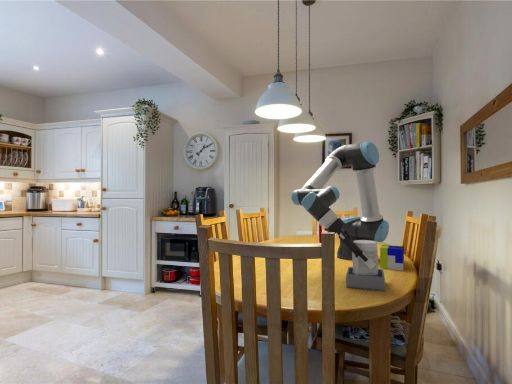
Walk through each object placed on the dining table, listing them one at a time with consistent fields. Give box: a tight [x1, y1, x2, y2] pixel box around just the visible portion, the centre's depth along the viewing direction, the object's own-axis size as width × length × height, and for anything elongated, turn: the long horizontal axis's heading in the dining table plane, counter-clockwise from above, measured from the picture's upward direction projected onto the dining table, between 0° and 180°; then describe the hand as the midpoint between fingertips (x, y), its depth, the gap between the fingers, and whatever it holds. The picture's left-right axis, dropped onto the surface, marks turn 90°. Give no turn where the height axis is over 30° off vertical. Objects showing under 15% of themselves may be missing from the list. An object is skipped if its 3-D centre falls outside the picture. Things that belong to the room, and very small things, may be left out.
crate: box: [345, 266, 386, 292], centre depth 120 cm, size 14×14×5 cm
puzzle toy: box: [379, 244, 405, 271], centre depth 150 cm, size 10×10×10 cm
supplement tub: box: [351, 240, 379, 277], centre depth 120 cm, size 10×10×15 cm
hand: (373, 264), depth 119 cm, fingers closed on supplement tub, 9 cm apart
